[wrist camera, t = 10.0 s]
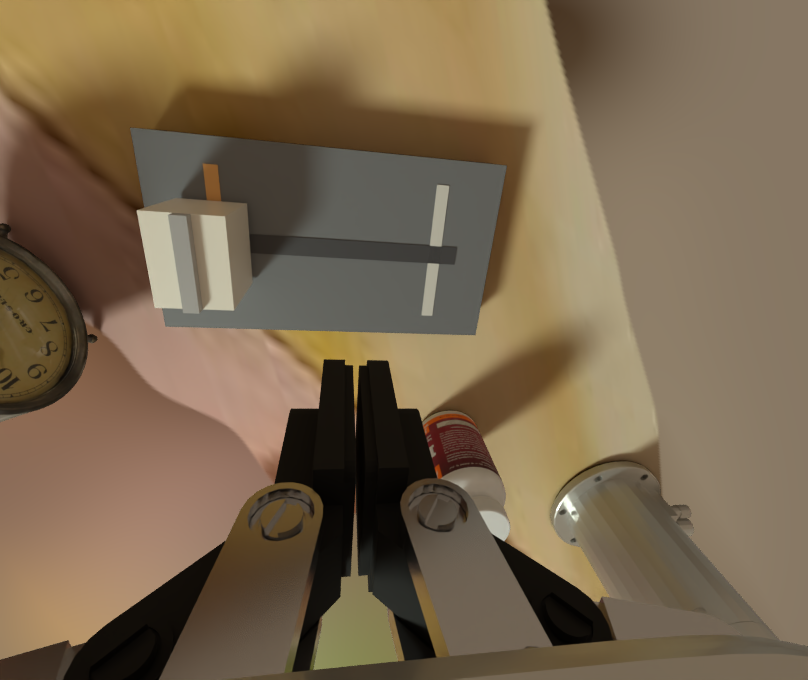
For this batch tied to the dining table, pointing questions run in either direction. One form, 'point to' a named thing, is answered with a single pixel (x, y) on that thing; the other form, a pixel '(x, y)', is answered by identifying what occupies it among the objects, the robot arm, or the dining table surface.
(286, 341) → the dining table surface
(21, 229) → the dining table surface
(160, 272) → the fader knob
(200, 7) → the dining table surface
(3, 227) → the alarm clock
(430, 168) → the fader console
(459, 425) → the pill bottle
